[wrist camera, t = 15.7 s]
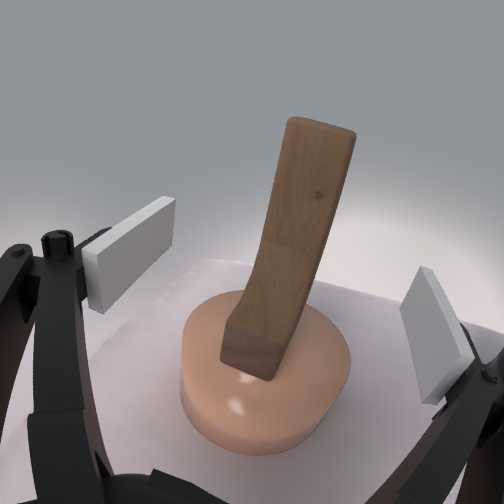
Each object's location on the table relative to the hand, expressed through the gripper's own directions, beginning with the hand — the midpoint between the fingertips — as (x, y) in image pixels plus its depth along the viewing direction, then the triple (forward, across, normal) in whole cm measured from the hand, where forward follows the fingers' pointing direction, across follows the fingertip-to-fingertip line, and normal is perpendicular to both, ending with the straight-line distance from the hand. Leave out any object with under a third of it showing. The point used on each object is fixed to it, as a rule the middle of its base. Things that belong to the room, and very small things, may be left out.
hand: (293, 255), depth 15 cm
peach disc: (+6, 0, -20) cm, 21 cm away
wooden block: (+6, 0, -12) cm, 13 cm away
